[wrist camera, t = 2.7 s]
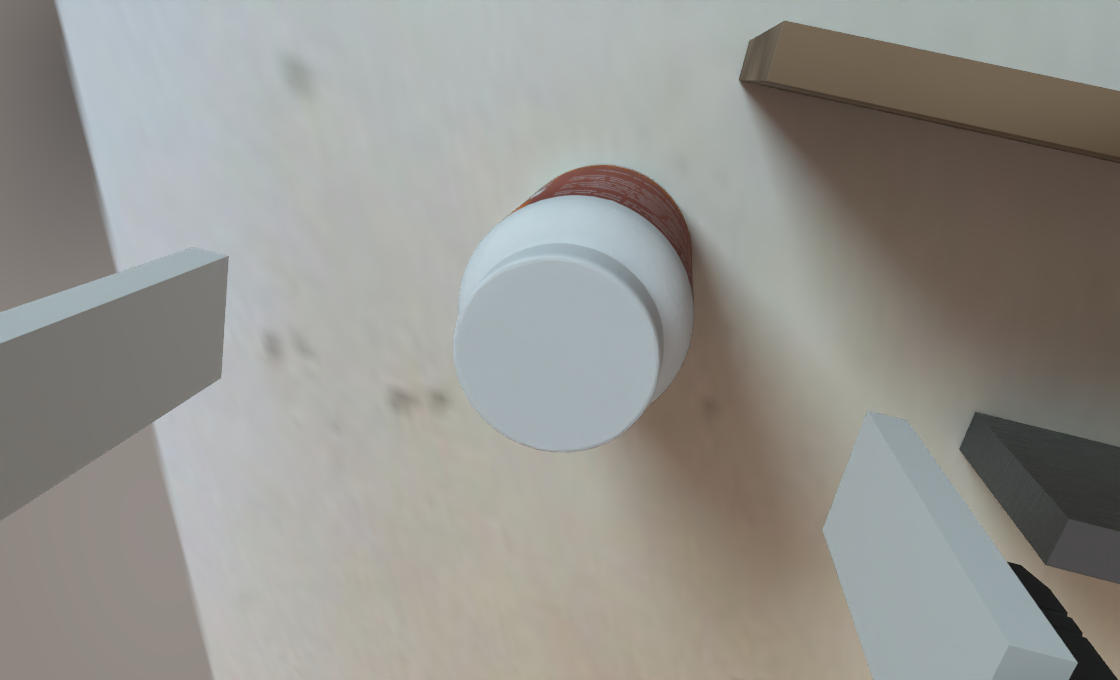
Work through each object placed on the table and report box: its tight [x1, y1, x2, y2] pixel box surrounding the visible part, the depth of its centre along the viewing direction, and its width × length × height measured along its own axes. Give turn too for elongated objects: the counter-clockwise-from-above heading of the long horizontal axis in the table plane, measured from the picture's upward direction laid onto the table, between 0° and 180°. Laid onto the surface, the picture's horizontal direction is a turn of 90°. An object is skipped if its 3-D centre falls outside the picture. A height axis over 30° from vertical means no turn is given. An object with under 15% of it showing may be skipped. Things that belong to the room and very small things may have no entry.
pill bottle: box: [453, 165, 694, 452], centre depth 22 cm, size 6×6×11 cm
